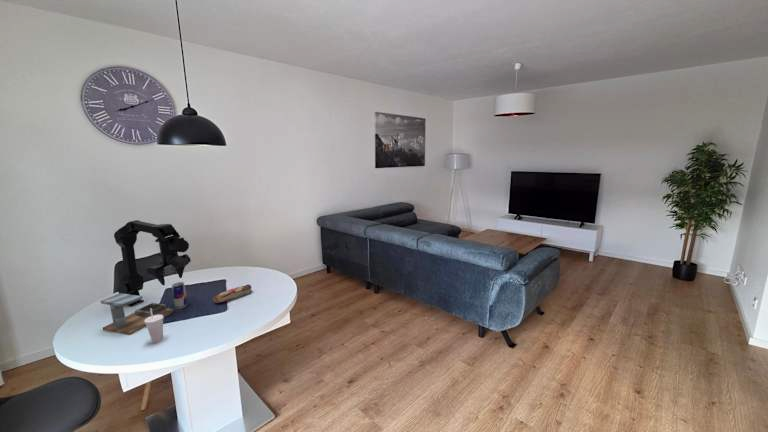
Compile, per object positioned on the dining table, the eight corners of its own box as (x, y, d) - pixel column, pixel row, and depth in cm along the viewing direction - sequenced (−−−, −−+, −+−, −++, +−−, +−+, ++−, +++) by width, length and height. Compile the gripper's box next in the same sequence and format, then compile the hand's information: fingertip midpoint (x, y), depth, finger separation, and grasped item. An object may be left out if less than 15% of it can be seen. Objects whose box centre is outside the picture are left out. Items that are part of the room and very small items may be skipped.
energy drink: (181, 309, 156) (178, 286, 154) (172, 308, 158) (168, 286, 155) (190, 304, 162) (186, 282, 159) (181, 303, 163) (177, 281, 160)
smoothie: (154, 335, 134) (149, 305, 131) (170, 334, 134) (165, 304, 131) (144, 344, 127) (138, 312, 125) (161, 343, 128) (155, 311, 125)
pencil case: (211, 299, 167) (210, 290, 166) (250, 289, 179) (249, 281, 178) (216, 307, 159) (214, 297, 158) (256, 295, 171) (255, 287, 170)
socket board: (102, 330, 139) (96, 301, 136) (149, 307, 159) (144, 282, 156) (130, 334, 135) (124, 305, 132) (174, 311, 155) (170, 285, 152)
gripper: (162, 258, 140) (167, 291, 143) (197, 246, 157) (201, 275, 160) (143, 256, 143) (148, 288, 146) (179, 245, 160) (184, 274, 163)
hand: (172, 281), depth 154 cm, fingers open, 9 cm apart
